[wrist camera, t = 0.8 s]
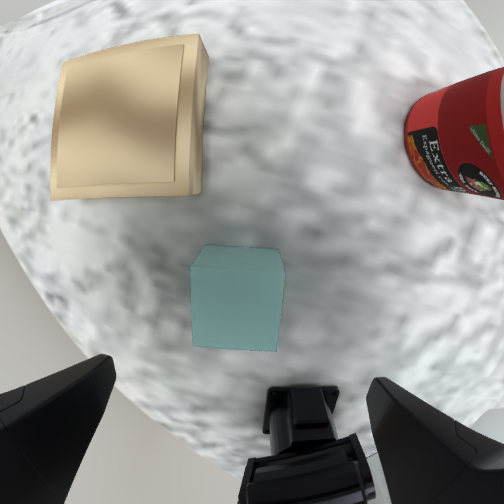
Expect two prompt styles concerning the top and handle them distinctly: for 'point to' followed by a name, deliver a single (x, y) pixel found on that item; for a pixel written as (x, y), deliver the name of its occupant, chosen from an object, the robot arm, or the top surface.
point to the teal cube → (236, 298)
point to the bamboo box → (130, 121)
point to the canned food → (461, 136)
